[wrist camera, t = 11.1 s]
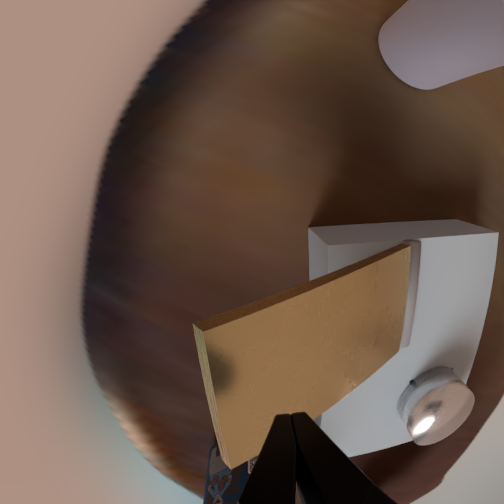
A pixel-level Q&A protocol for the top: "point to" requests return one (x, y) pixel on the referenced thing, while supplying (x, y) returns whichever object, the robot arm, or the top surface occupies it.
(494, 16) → the spray bottle
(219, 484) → the soda can
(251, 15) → the top surface
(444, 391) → the steel pin
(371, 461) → the top surface
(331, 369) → the plate
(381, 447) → the block
